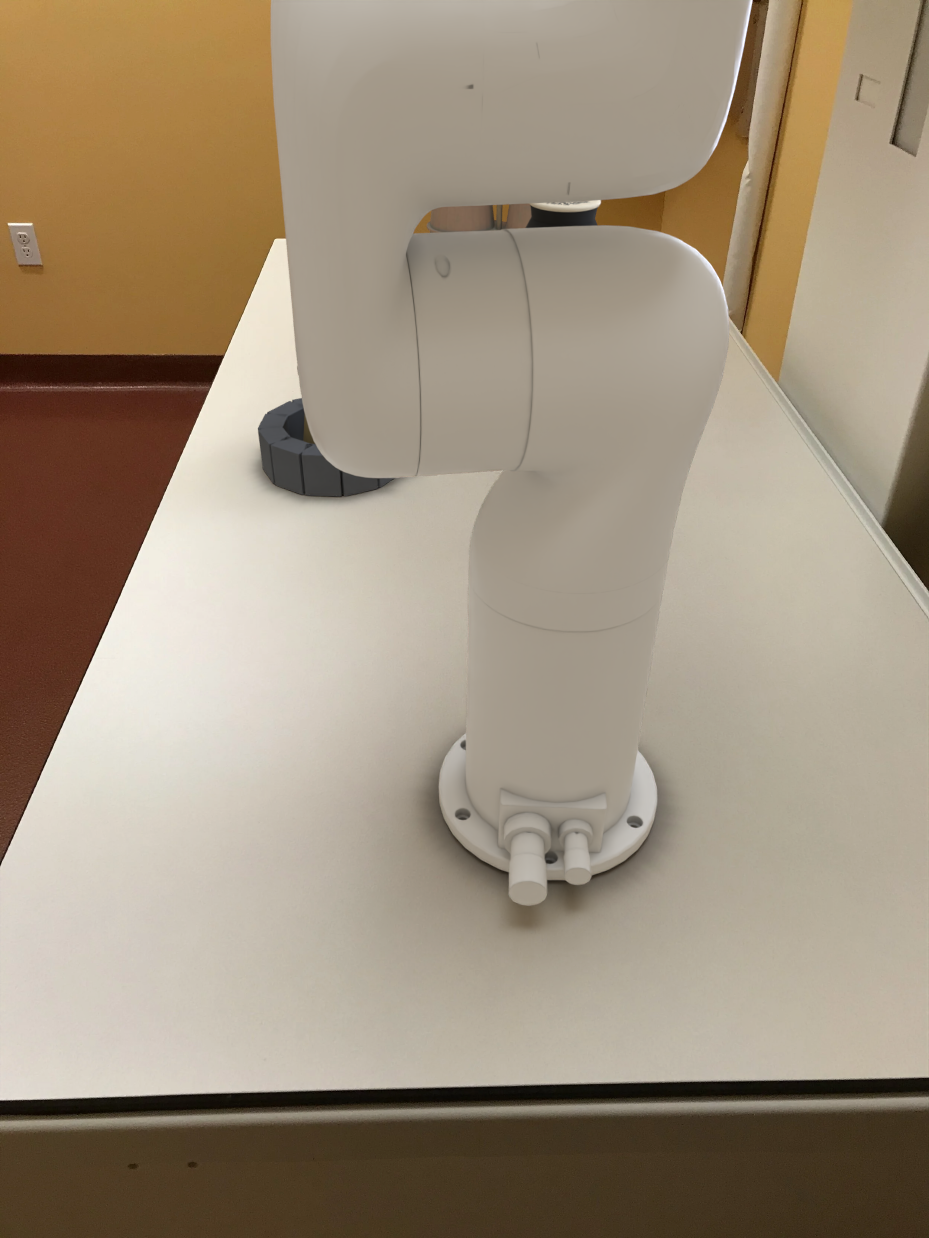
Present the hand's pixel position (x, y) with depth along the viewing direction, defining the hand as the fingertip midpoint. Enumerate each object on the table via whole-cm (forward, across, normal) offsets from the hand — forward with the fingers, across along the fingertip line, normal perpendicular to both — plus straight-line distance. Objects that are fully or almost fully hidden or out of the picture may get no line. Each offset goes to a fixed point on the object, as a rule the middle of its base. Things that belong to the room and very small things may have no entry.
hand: (430, 120), depth 76 cm
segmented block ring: (+28, +4, -9) cm, 30 cm away
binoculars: (+28, -55, +5) cm, 62 cm away
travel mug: (+28, -21, +12) cm, 37 cm away
